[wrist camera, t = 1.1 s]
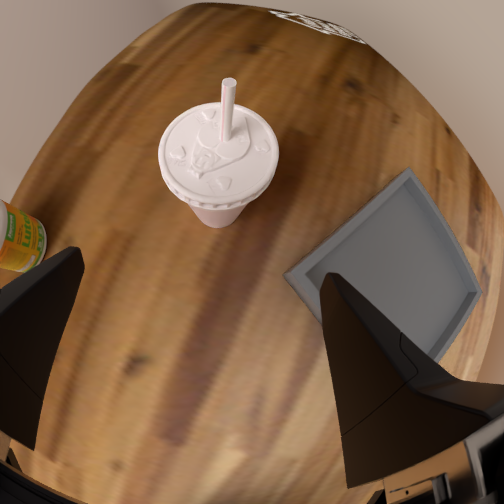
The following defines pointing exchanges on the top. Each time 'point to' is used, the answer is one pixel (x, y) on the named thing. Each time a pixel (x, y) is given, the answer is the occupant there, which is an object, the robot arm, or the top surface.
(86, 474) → the top surface
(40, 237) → the supplement bottle
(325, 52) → the top surface
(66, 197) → the top surface
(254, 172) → the smoothie
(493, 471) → the robot arm
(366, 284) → the tray
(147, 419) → the top surface
